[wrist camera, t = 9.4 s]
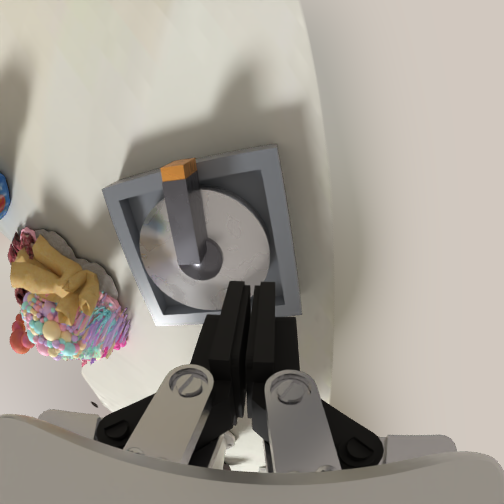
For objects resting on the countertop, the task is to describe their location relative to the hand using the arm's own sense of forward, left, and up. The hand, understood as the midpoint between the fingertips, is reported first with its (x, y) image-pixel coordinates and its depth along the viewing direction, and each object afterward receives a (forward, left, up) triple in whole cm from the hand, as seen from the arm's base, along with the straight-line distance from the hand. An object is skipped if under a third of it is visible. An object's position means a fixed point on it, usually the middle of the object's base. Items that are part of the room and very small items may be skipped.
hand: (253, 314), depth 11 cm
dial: (-2, +6, -15) cm, 16 cm away
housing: (-4, +6, -17) cm, 18 cm away
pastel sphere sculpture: (-10, +32, -17) cm, 38 cm away
